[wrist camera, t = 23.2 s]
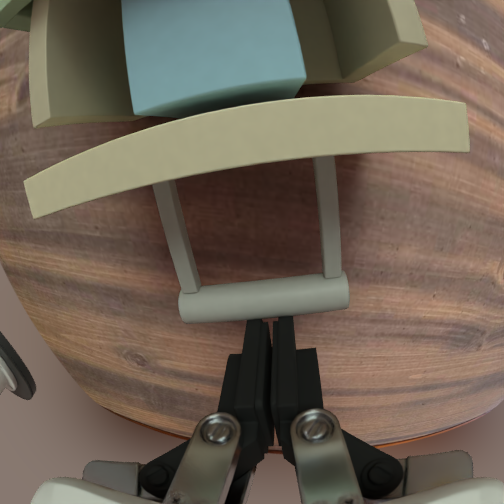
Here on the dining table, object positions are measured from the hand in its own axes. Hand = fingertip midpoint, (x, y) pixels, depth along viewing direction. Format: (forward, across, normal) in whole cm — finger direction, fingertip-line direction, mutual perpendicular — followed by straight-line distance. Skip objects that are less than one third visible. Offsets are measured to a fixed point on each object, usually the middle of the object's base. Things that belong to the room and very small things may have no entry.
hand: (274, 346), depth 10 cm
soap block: (+3, 0, -11) cm, 11 cm away
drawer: (+4, 0, -11) cm, 12 cm away
